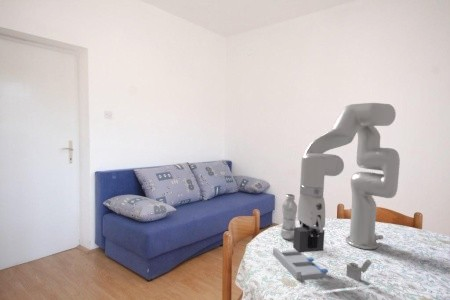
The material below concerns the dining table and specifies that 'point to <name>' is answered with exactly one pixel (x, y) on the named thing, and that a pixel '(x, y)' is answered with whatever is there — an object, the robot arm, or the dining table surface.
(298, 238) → the dark gray block
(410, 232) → the dining table surface
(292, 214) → the plastic bottle
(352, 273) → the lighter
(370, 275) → the dining table surface
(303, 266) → the grey tray
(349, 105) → the robot arm
